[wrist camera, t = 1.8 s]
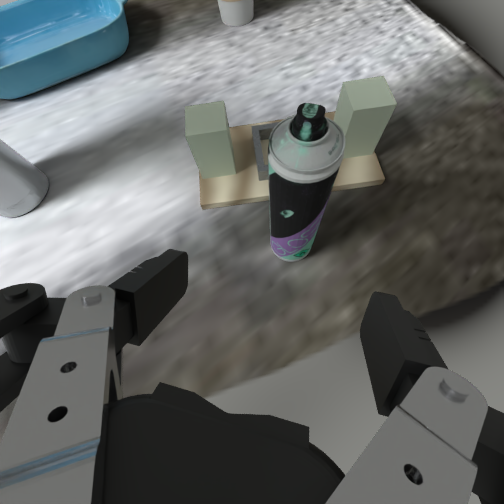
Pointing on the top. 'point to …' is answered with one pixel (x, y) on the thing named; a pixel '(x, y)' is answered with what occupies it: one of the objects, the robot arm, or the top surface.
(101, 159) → the top surface
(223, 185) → the wooden board
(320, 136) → the spray can
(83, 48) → the casserole dish
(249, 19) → the coffee cup
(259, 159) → the metal collar
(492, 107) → the top surface
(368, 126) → the sage pillars
